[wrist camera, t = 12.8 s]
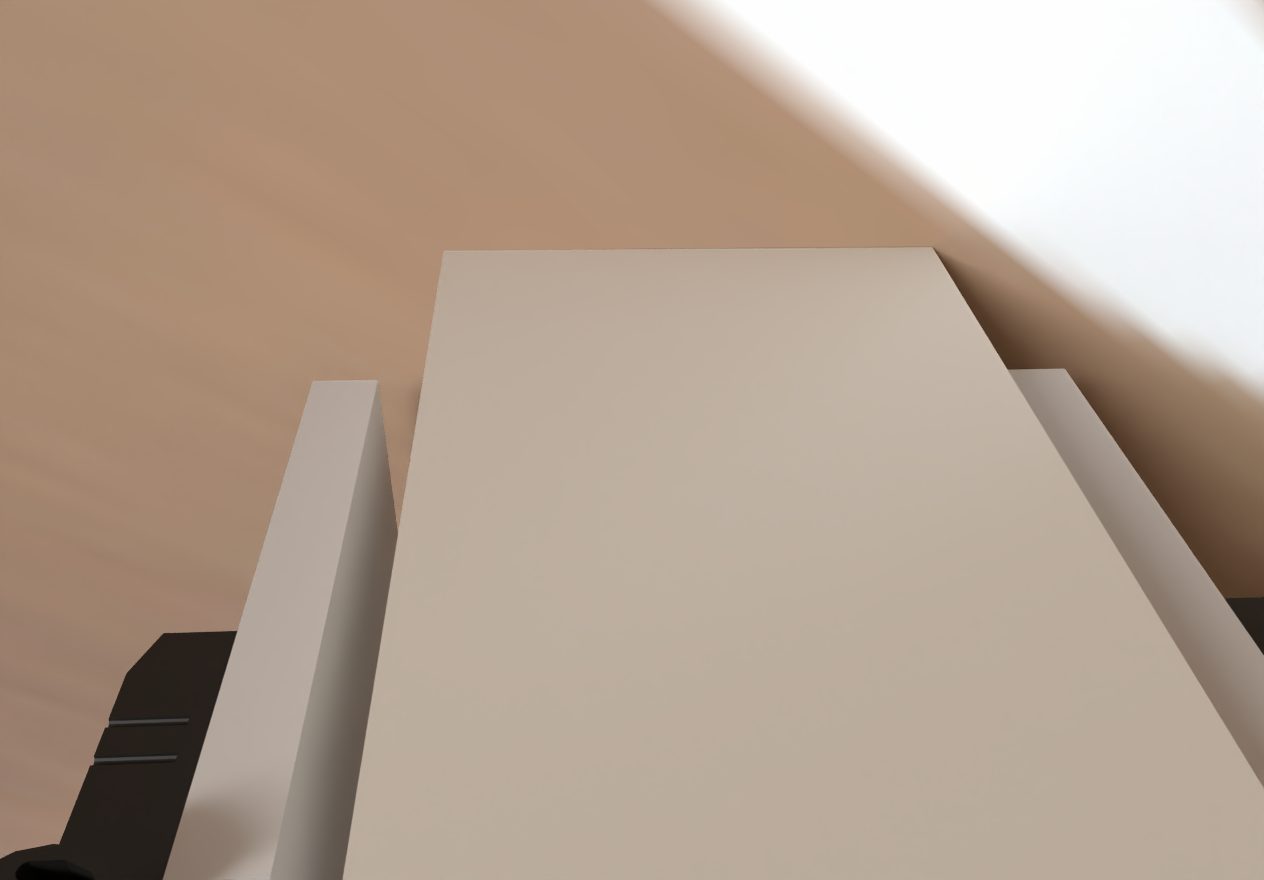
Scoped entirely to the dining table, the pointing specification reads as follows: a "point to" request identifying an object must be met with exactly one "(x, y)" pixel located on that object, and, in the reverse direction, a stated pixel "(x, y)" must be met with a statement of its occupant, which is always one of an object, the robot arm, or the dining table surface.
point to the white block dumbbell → (765, 598)
